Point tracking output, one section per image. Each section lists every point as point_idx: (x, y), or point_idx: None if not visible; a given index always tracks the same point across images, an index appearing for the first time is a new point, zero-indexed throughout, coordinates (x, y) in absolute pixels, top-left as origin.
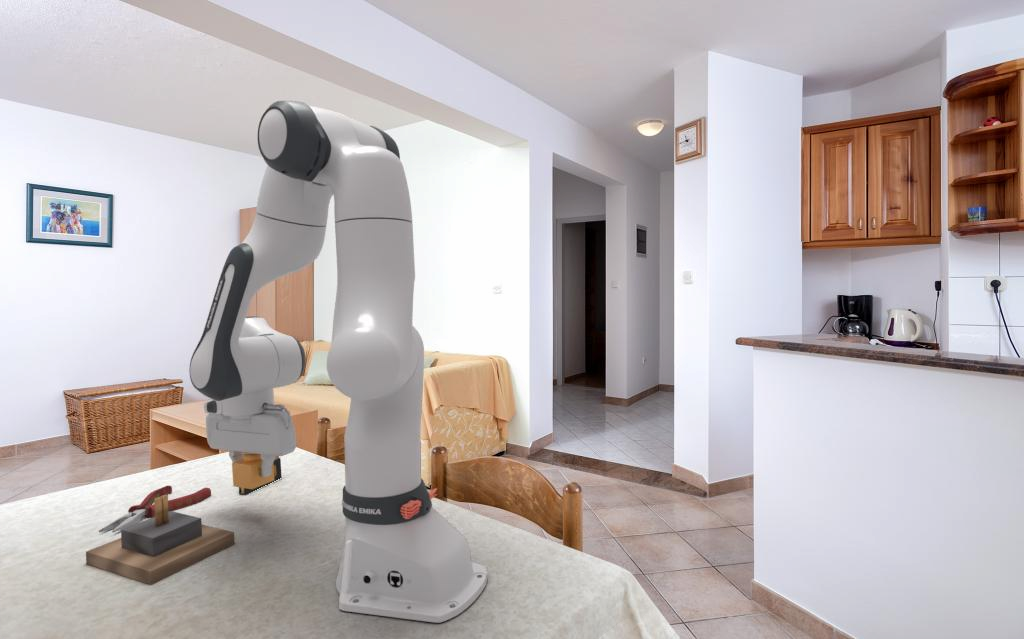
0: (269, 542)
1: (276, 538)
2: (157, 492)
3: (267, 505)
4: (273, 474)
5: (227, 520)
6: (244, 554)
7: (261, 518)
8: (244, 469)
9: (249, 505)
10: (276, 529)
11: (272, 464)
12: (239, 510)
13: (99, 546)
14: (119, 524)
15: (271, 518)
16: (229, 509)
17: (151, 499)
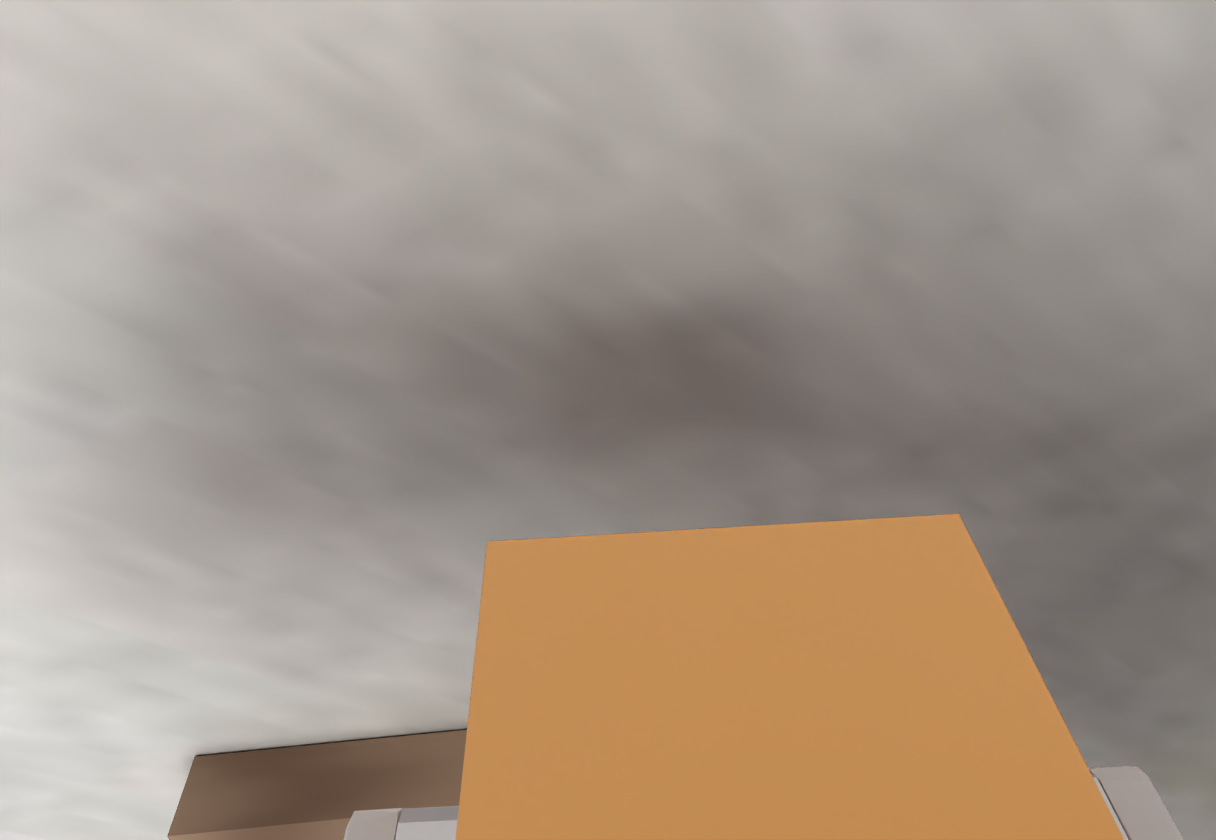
0: (1153, 576)
1: (1166, 519)
2: None
3: (405, 63)
4: (994, 600)
5: (424, 511)
6: (1093, 724)
7: (697, 342)
8: None
9: (196, 176)
10: (1047, 424)
11: (1084, 786)
12: (261, 324)
13: None
14: None
15: (801, 295)
16: (130, 358)
17: None
